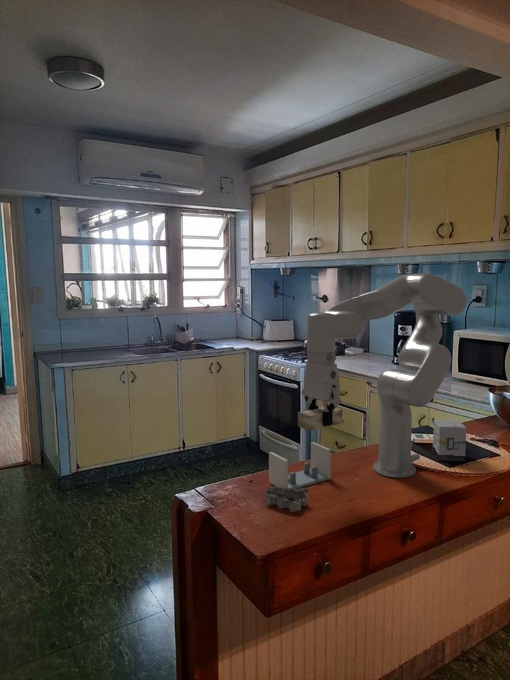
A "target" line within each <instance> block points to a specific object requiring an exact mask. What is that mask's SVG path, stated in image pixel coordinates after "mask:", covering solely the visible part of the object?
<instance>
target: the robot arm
mask: <svg viewBox="0 0 510 680" xmlns="http://www.w3.org/2000/svg"><path fill="white" fill-rule="evenodd" d="M467 303H468V297H467V294H466V293H465V291H464V290H463V288H461V287H460V286H458V285H456V284H454V283H452V282H450V281H448V280H446V279H444V278H442V277H441V276H438V275H436V274H433V273H430V272H429V273H428V272H425V273H424V272H423V273H406V274H402V275H400V276H398V277H396V278H394V279H393V280H391V281H389V282H387V283H385V284H384V285H382V286H379V287H378V288H376V289H374V290H371V291H368V292H366V293H363V294H361V295H358V296H355V297H352V298H350V299H347V300H343V301H341V302H339V303H337V304H335V305H334V306H332V307H330V308H328V309H326V310H325V311H324V312H312V313H309V314H308V316H307V321H306V322H307V329H306V330H307V335H306V336H307V340H306V341H307V342H306V343H307V344H306V347H307V348H306V350H307V351H306V354H307V355H306V363H305V368H304V369H305V370H304V374H303V375H304V377H303V379H304V380H303V389H302V390H301V395H302V396H303V398H304V400H305V401H306V406H307V409H308V410H312V409H316V408H319V406H318V400H319V401H322V405H323V406H322V407H324V412H323V426H329V425H332V421H333V411H334V410H335V408H338V406H339V405H340V404H342V400H341V397H340V396H341V395H340V392H341V391H340V389H341V388H340V376H339V375H340V373H339V368H338V364H337V363H336V360H337V357H336V339H347V340H352V339H356V338H358V337H360V336H361V335H362V333H363V332H364V331H365V321H372V320H373V321H374V320H379V319H384V318H387V317H389V316H391V315H393V314H394V313H396V312H397V311H399V310H401V309H402V308H405V307H406V306H408V305H410V304H413V308H414V312H415V321H416V322H415V325H414V327H413V330H412V331H411V333H410V335H409V337H408V338H407V340H406V341H405V343H404V345H403V346H402V348H401V349H400V351H399V354H398V356H397V362H398V365H399V366H400V367H401V368H403V369H404V370H403V369H399V368H398V369H397V368H389V369H385V370H384V371H382V372H381V373H380V374H379V376H378V377H377V380H376V390H377V396H378V405H379V406H378V407H379V418H378V419H379V420H378V421H379V424H378V425H379V427H378V430H379V433H378V460H376V461H374V463H373V465H372V467H373V468H372V469H373V470H374V471H375V473H377V474H379V475H381V476H384V477H387V478H388V477H389V478H393V479H394V478H395V479H399V478H400V479H405V478H410V477H412V476H414V475H416V472H417V471H416V467H415V465H413V463H414V462H415V461H418V460H420V458H421V456H420V454H419V453H414V454H412V428H413V427H412V426H413V425H412V422H413V415H412V409H411V407H415V408H423V407H425V406H427V405H428V404H429V403H430V402H431V401H432V400H433V398H434V396H435V395H436V394H437V392H438V390H439V388H440V386H441V385H442V384H443V381H444V380H445V379H446V377H447V375H448V374H449V371H450V368H451V365H452V355H451V352H450V350H449V349H448V348H447V347H446V345H445V346H444V345H443V344H440V341H441V339H442V336H443V327H442V324H441V319H440V317H439V316H457V315H460V314H461V313H463V311H465V309H466V307H467ZM329 427H330V426H329Z"/></svg>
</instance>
